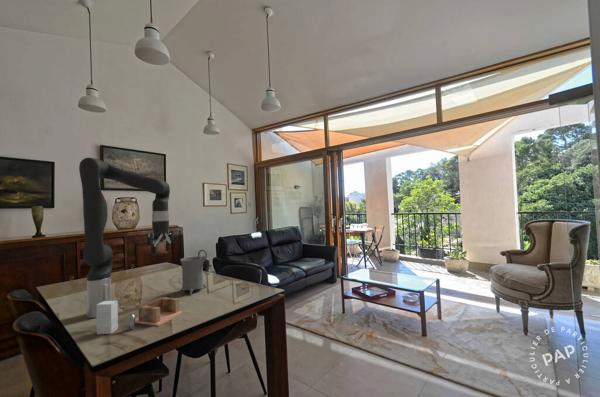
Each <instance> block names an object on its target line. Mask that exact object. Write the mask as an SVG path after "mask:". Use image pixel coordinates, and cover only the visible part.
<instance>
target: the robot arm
mask: <svg viewBox="0 0 600 397" xmlns="http://www.w3.org/2000/svg"><path fill="white" fill-rule="evenodd" d="M78 171H79V175H80V181H81V189H82V190H81V191H82V212H83V213H82V214H83V230H84V231H83V232H84V243H83V245H84V246H83V253H82V254H83V255H82V256H83V260H84V262H85V263H86V264H87V265H88V266H90V269H89V272H88V273H87V274H86V296H85V316H86V317H87V318H89V319H95V318H96V319H97V312H96V305H97V304H99V303H101V302H103V301H112V277H111V275H112V271H113V262H114V260H113V259H114V255H113V249H112V247H111V246H109V245H108V244H105V243H104V232H105V228H106V225H107V222H108V217H109V215H108V214H109V213H108V203H107V200H106V198H105V196H104V194H103V192H102V190H101V186H100V179H104V180H105V179H106V180H111V181H116V182H120V183H122V184H123V185H127V186H129V187H132V188H135V189H139V190H143V191H146V192H148V193H152V194H154V195H155V196H154V200H152V206H151V207H152V208H151V209H152V213H151V214H152V215H151V230H152V232H149V233H147V234H146V246H149V247H150V253H151V255H157V245H158V243H159V242H161V241H164V243H165V252H170V251H171V244H172V243H173V242H174V237H175V236H174V230H169V229H170V214H169V198H170V194H171V187H170V184H169V183H168V182H167V181H163V180H161V179H156V178H153V177H149V176H147V175H144V174H141V173H137V172H133V171H129V170H124V169H122V168H118V167H116V166H113V165H111V164H109V163H107V162H105V161H104V160H101V159H98V158H93V157H84V158H83V159H82V160H81V161H80V162H79V166H78Z"/></svg>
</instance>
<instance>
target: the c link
mask: <svg viewBox="0 0 600 397" xmlns="http://www.w3.org/2000/svg"><path fill="white" fill-rule="evenodd" d="M162 311H164V312H173V313H177V312H178V311H180V299H179V298H177V297H165V296H161V297H159V298H157V299H154V300H152V301H149V302H148V303H144V304H143V305H140V306H138V317H139V321H145V322H152V323H158V322H160V312H162Z"/></svg>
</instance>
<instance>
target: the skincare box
mask: <svg viewBox="0 0 600 397" xmlns="http://www.w3.org/2000/svg"><path fill="white" fill-rule="evenodd" d="M118 308H119V306H118V300H111V301H103V302H101V303H99V304H97V305H96V312H97V317H96V335H105V334H106V335H109V334H113V333H115V331H117V330H118V329H119V320H118V319H119V317H118V316H119V315H118V314H119V313H118V311H119V310H118Z"/></svg>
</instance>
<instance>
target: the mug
mask: <svg viewBox="0 0 600 397" xmlns="http://www.w3.org/2000/svg"><path fill="white" fill-rule="evenodd" d="M201 252H204V254H205V255H203V256H201V255H200V253H201ZM207 258H208V252H207V251H206V249H200V250H199V251H198V253H197V256H196V255H195V256H188V257H183V258H180V260H179V261H180V264H181V269H182V270H181V271H182V272H181V274H182V275H181V276H182V277H181V279H182V286H181V289H180V290H181V291H189V295H190V296H191V295H193V292H194V290H198V289H201V288H207V286H206V283H204V272H203V271H204V270H203V268H204V266H203V265H204V263H205V261H206V260H207Z"/></svg>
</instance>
